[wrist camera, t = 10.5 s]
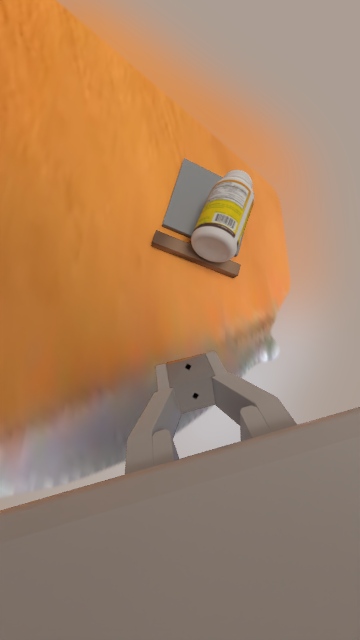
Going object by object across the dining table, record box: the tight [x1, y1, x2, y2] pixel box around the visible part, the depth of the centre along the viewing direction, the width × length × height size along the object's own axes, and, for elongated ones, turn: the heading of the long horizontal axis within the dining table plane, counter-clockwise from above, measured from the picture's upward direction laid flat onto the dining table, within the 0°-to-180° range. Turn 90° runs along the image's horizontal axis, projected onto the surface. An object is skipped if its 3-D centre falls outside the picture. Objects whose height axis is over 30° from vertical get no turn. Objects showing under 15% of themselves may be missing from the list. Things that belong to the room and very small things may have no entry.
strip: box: [152, 230, 241, 278], centre depth 26 cm, size 12×2×1 cm, turn 74°
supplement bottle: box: [191, 170, 254, 262], centre depth 24 cm, size 6×6×10 cm
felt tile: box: [162, 158, 254, 257], centre depth 28 cm, size 11×10×1 cm
